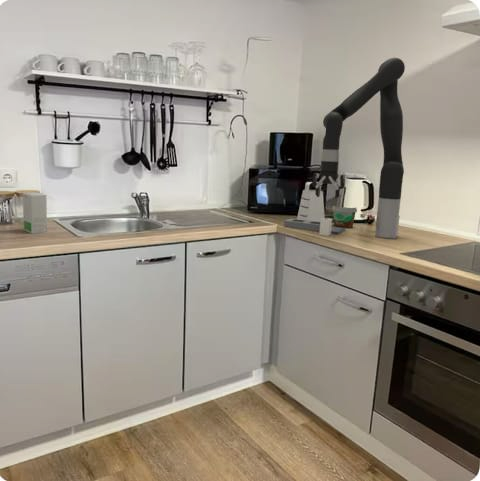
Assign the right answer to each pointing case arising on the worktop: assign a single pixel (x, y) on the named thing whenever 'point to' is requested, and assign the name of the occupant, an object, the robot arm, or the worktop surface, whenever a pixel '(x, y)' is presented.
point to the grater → (311, 205)
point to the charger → (325, 226)
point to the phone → (337, 230)
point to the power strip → (302, 224)
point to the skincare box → (35, 212)
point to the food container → (343, 216)
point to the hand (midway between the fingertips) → (327, 197)
